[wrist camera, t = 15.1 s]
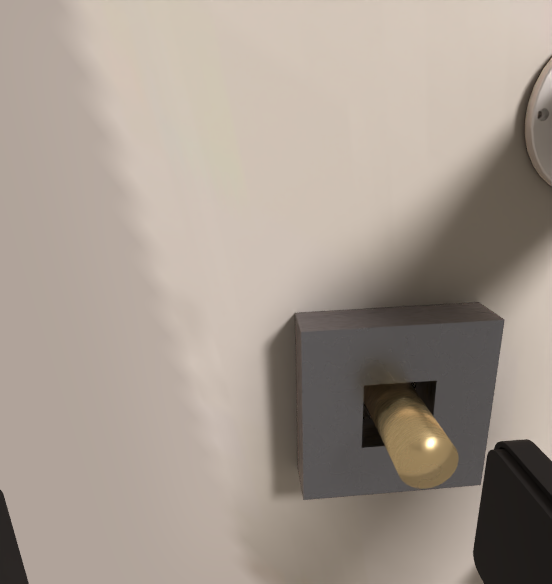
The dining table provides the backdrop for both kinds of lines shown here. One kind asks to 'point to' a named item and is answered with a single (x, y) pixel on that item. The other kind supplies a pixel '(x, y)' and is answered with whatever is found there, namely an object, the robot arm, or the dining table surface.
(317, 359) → the socket block
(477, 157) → the dining table surface
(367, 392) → the brass peg
